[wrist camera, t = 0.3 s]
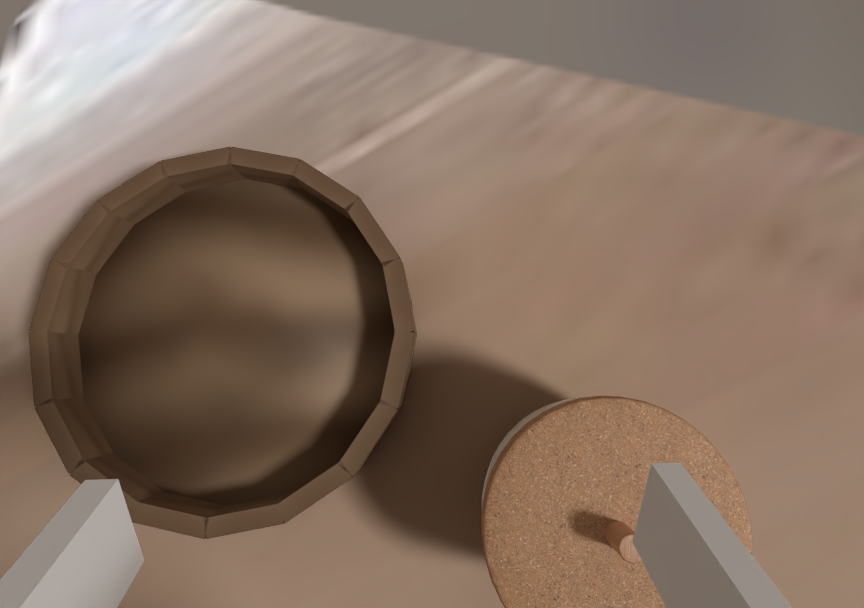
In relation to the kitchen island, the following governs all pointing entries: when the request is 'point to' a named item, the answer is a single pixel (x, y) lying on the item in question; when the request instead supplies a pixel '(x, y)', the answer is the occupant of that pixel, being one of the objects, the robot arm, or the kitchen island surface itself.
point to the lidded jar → (589, 501)
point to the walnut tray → (222, 341)
